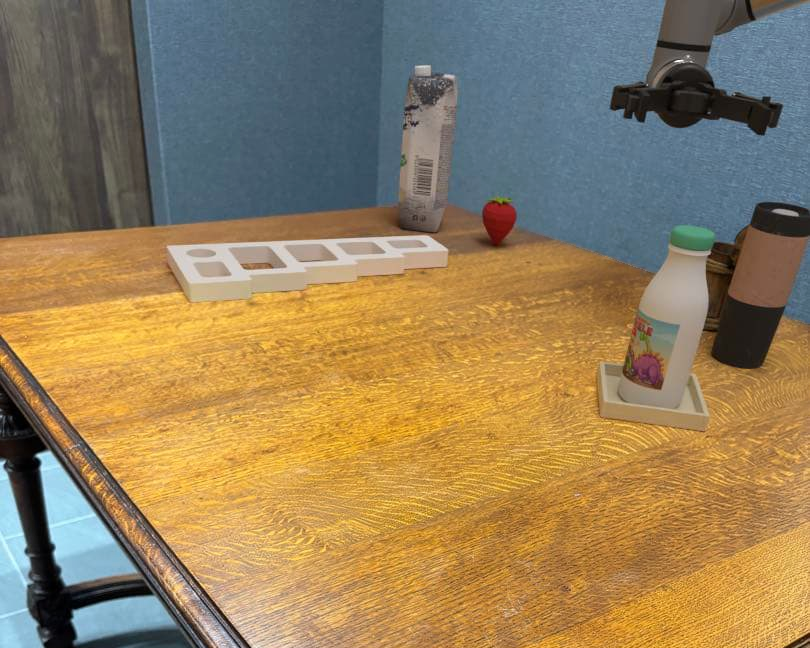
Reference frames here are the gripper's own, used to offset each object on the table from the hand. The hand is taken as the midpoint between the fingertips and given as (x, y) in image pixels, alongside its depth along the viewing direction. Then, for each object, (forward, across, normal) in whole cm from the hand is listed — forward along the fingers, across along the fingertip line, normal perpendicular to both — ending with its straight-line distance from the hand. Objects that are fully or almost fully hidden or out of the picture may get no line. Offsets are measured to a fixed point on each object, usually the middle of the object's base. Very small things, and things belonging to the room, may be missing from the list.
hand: (704, 115), depth 93 cm
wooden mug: (-18, +12, +30) cm, 37 cm away
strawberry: (-48, -23, +30) cm, 61 cm away
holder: (-19, -49, +30) cm, 61 cm away
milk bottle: (+13, 0, +30) cm, 32 cm away
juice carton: (-55, -38, +30) cm, 74 cm away
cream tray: (+13, 0, +30) cm, 33 cm away
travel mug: (-6, +14, +30) cm, 34 cm away
